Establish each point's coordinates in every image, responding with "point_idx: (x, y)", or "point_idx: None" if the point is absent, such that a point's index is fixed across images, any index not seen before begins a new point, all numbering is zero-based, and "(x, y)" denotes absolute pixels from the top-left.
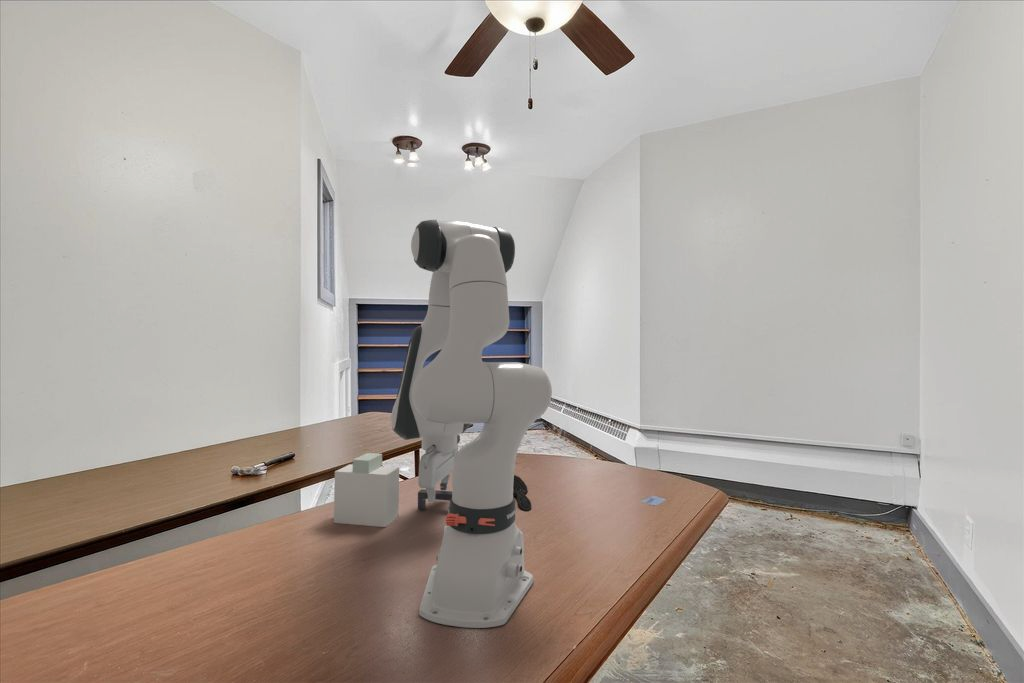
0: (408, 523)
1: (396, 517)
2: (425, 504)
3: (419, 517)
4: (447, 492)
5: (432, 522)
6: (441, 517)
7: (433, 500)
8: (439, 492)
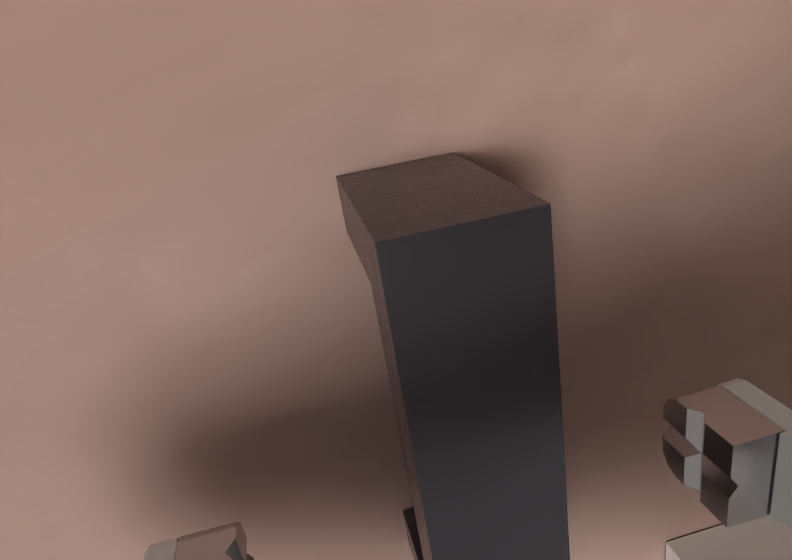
0: (782, 401)
1: (703, 535)
2: (411, 530)
3: (652, 406)
4: (473, 400)
5: (742, 244)
6: (612, 235)
7: (752, 396)
8: (510, 490)
